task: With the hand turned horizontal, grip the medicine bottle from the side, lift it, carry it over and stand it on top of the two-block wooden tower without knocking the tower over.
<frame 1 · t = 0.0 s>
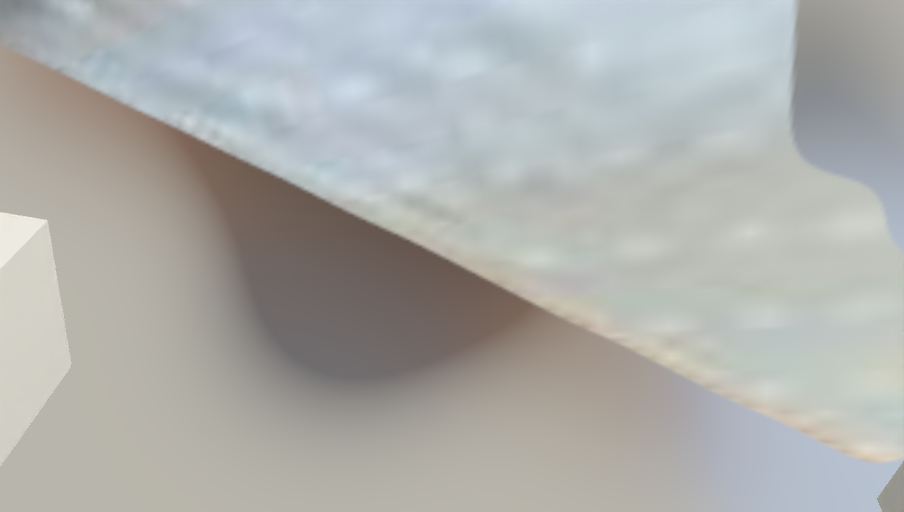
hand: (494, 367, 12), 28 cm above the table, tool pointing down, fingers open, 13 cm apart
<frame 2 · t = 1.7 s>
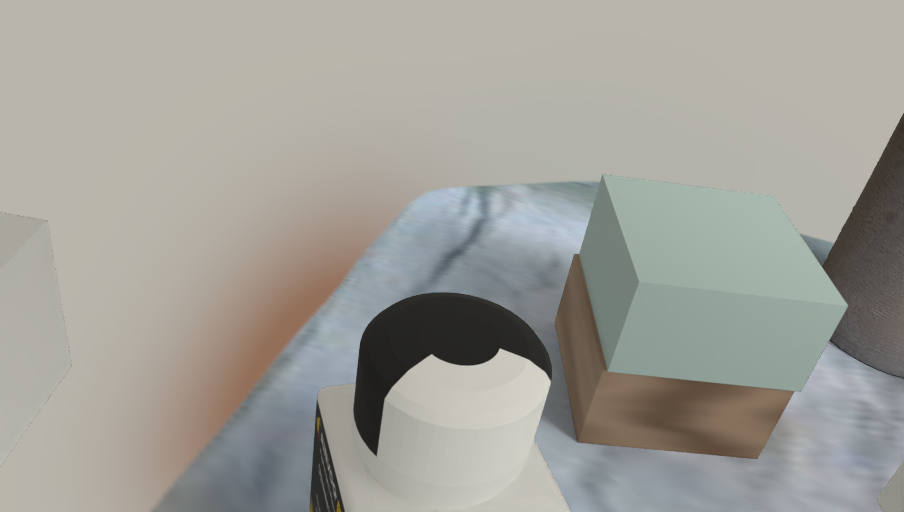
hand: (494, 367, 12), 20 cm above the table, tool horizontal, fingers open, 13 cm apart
tower base block: (646, 388, 42), on the table, touching tower top block
pillar candle: (883, 332, 49), on the table
tower top block: (680, 317, 39), point 5 cm above the table, touching tower base block
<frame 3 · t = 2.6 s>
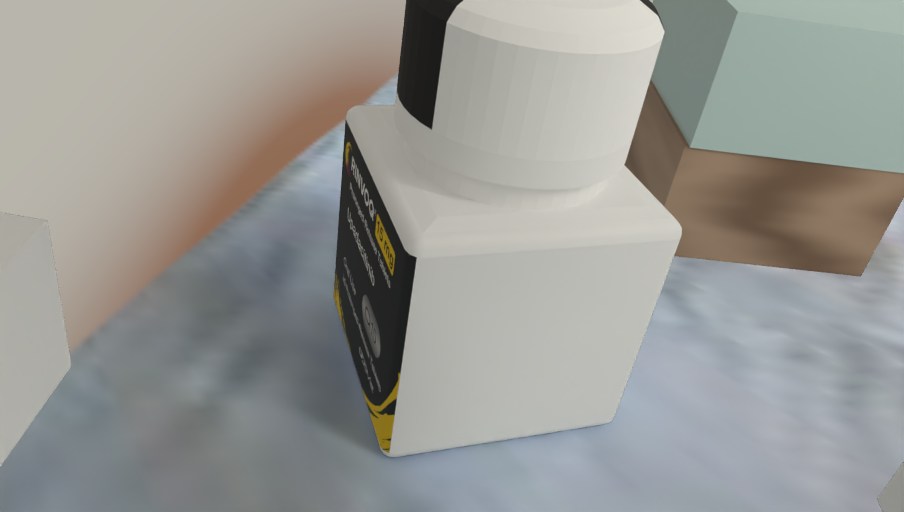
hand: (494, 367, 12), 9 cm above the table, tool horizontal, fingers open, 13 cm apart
medicine bottle: (463, 363, 25), on the table
tower base block: (721, 210, 36), on the table, touching tower top block
tower top block: (765, 109, 33), point 5 cm above the table, touching tower base block
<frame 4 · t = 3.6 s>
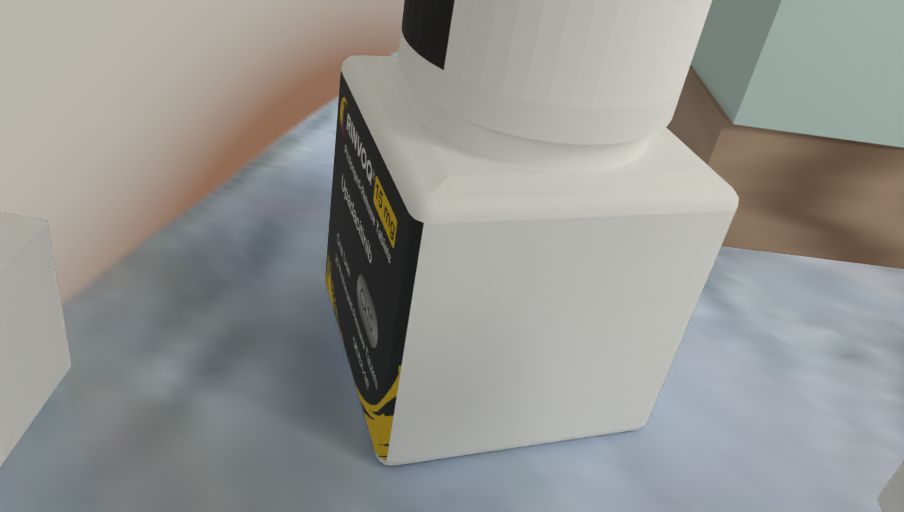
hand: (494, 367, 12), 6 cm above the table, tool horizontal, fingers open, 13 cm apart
medicine bottle: (473, 358, 22), on the table
tower base block: (754, 197, 33), on the table
tower top block: (809, 87, 30), point 5 cm above the table
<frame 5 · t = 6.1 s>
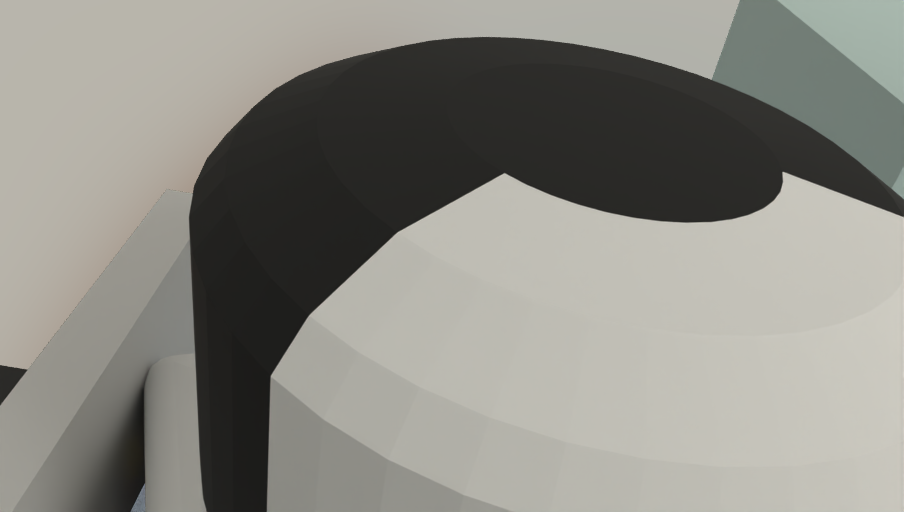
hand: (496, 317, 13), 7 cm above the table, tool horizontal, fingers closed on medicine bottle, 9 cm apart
tower top block: (900, 241, 21), point 5 cm above the table, touching tower base block
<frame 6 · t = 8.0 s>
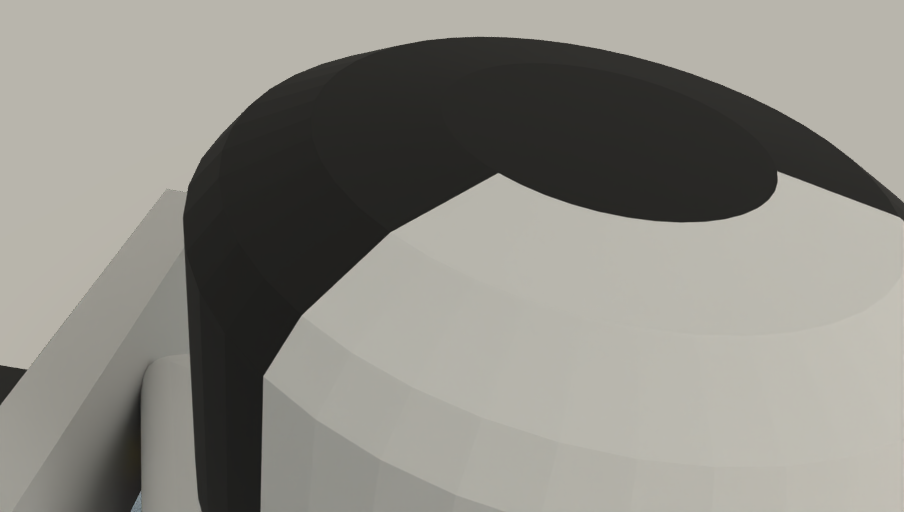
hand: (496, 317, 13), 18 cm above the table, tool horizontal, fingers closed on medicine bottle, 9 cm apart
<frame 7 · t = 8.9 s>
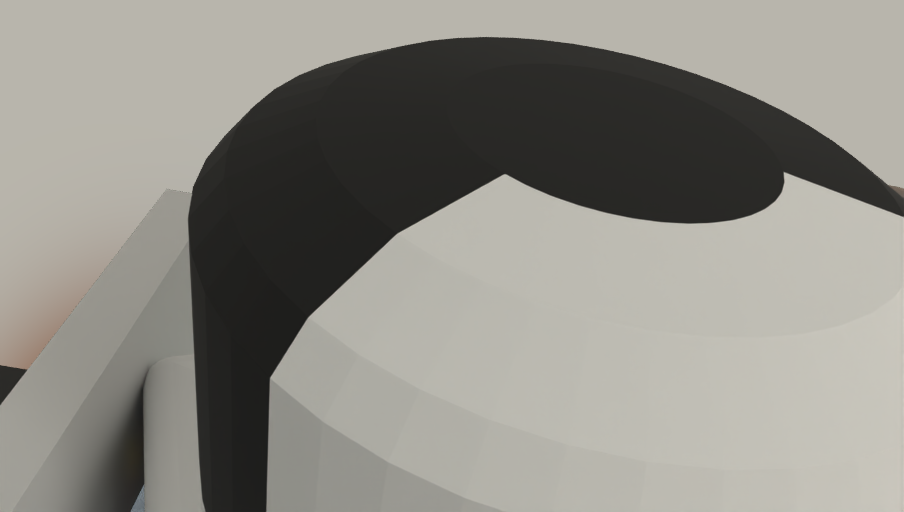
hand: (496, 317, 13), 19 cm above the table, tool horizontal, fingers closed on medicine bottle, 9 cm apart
when the fingers open (18 cm above the table, at t = 11.4 s): medicine bottle drops 2 cm, resting on tower top block.
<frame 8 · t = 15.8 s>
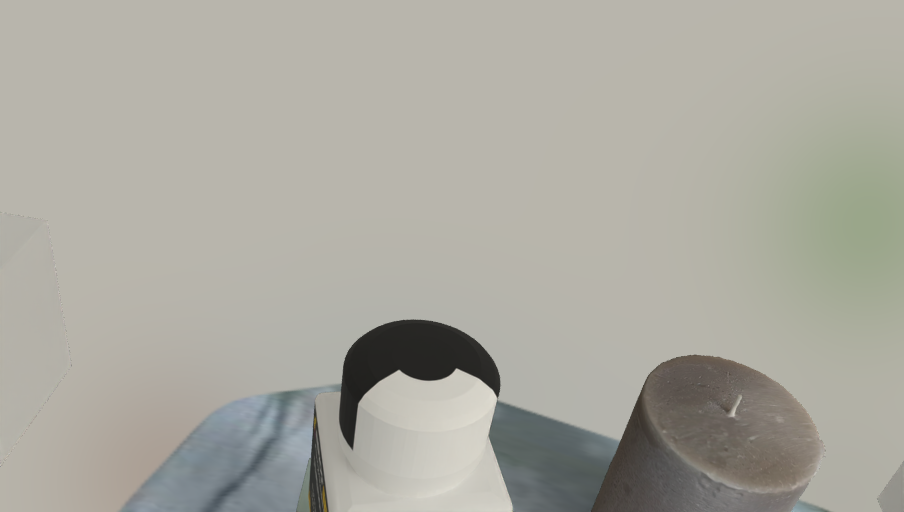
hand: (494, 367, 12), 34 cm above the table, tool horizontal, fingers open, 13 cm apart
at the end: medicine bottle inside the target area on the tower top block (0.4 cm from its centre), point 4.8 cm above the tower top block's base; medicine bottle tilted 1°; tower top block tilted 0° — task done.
